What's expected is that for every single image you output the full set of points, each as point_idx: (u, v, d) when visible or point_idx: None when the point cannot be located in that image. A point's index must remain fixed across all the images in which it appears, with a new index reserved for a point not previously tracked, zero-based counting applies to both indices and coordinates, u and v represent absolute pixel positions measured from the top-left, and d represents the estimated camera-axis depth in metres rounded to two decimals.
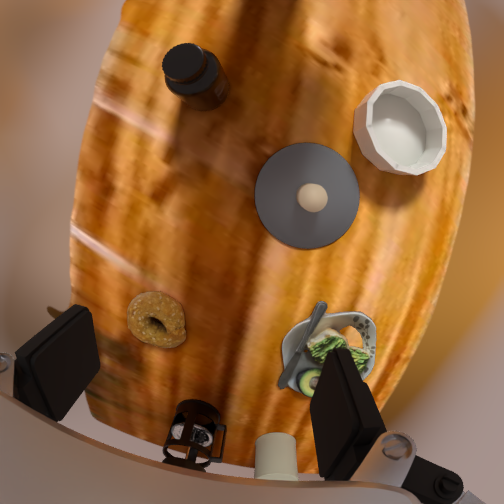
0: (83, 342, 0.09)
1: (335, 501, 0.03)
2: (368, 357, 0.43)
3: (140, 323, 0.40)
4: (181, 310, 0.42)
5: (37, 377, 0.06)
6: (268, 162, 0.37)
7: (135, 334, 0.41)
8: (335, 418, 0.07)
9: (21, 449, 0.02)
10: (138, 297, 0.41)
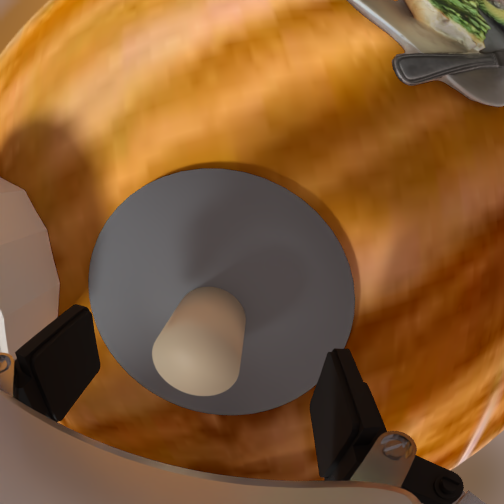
0: (83, 342, 0.09)
1: (335, 501, 0.03)
2: None
3: None
4: None
5: (37, 377, 0.06)
6: (230, 412, 0.16)
7: None
8: (335, 418, 0.07)
9: (21, 449, 0.02)
10: None
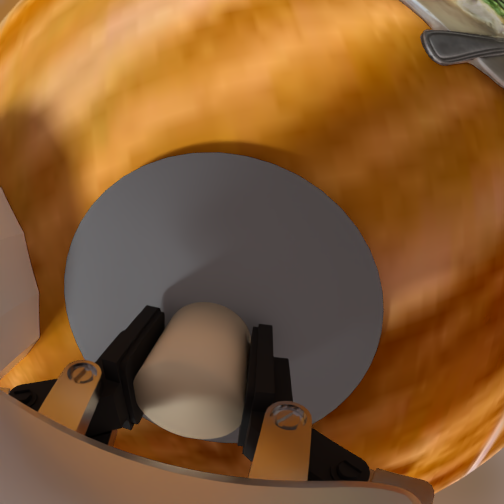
0: None
1: (335, 501, 0.03)
2: None
3: None
4: None
5: (125, 382, 0.07)
6: (234, 440, 0.13)
7: None
8: (246, 386, 0.08)
9: (21, 449, 0.02)
10: None
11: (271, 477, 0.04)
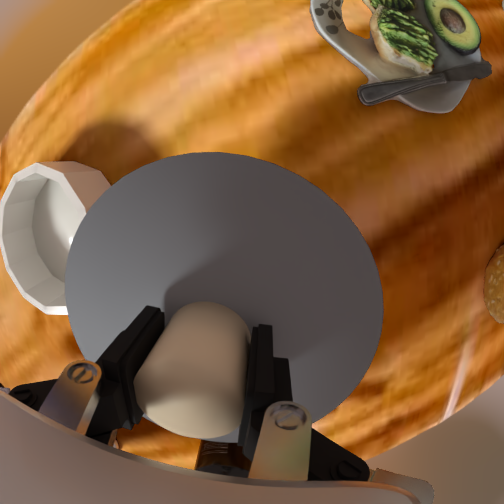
0: None
1: (335, 501, 0.03)
2: None
3: None
4: (494, 264, 0.20)
5: (125, 382, 0.07)
6: (234, 440, 0.13)
7: None
8: (246, 386, 0.08)
9: (21, 449, 0.02)
10: (501, 322, 0.21)
11: (271, 477, 0.04)
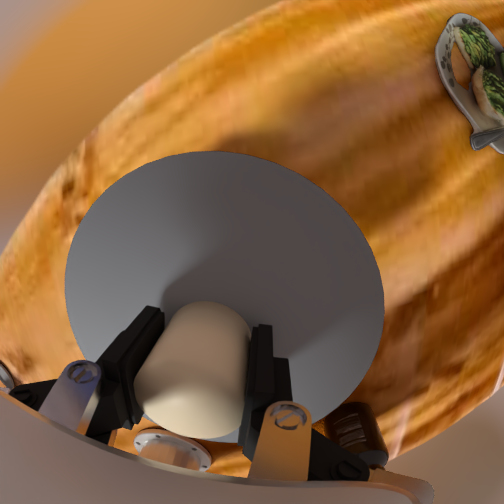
0: None
1: (335, 501, 0.03)
2: (461, 30, 0.15)
3: None
4: None
5: (125, 382, 0.07)
6: (235, 440, 0.13)
7: None
8: (246, 385, 0.08)
9: (21, 449, 0.02)
10: None
11: (271, 477, 0.04)
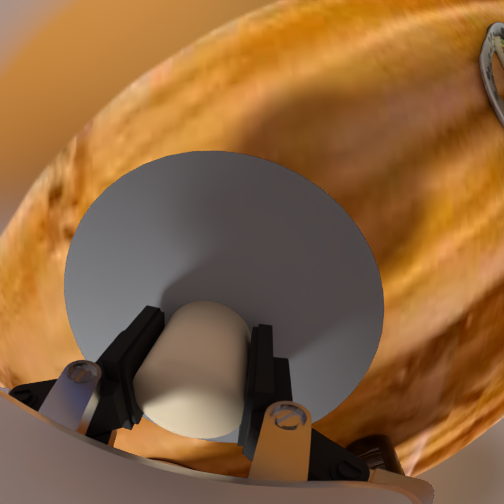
0: None
1: (335, 501, 0.03)
2: (502, 40, 0.12)
3: None
4: None
5: (125, 382, 0.07)
6: (234, 440, 0.13)
7: None
8: (246, 385, 0.08)
9: (21, 449, 0.02)
10: None
11: (271, 477, 0.04)
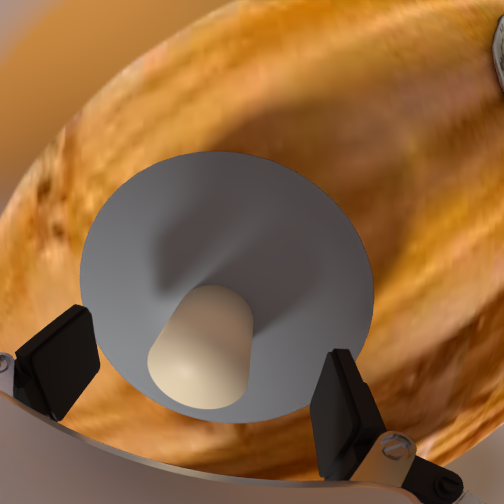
0: (83, 342, 0.09)
1: (335, 501, 0.03)
2: None
3: None
4: None
5: (37, 377, 0.06)
6: (237, 420, 0.14)
7: None
8: (335, 418, 0.07)
9: (21, 449, 0.02)
10: None
11: None
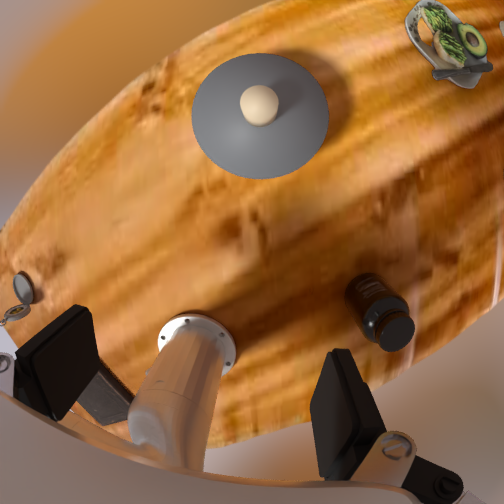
0: (83, 342, 0.09)
1: (335, 501, 0.03)
2: (424, 9, 0.24)
3: None
4: None
5: (37, 377, 0.06)
6: (268, 176, 0.29)
7: None
8: (335, 418, 0.07)
9: (21, 449, 0.02)
10: None
11: None
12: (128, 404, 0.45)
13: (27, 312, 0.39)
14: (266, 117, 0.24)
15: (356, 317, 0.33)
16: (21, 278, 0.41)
